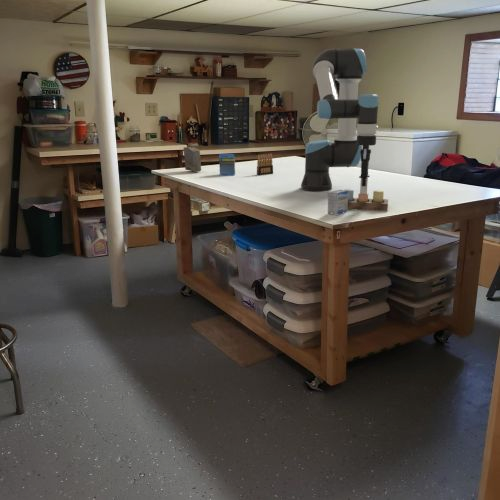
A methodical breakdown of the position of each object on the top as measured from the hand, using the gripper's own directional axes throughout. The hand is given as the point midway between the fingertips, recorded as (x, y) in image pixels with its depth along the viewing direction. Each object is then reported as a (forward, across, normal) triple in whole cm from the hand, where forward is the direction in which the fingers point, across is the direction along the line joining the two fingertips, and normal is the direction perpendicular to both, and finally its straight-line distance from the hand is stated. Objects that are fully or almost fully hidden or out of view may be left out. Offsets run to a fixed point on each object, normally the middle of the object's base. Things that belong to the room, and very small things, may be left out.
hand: (363, 193), depth 212 cm
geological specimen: (+6, +78, +106) cm, 132 cm away
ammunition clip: (+6, +78, +61) cm, 99 cm away
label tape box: (+6, +72, +82) cm, 109 cm away
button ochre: (+4, 0, -6) cm, 7 cm away
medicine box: (+6, -11, +9) cm, 16 cm away
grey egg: (+4, 0, +6) cm, 7 cm away
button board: (+6, 0, 0) cm, 6 cm away
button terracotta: (+6, 0, 0) cm, 6 cm away
